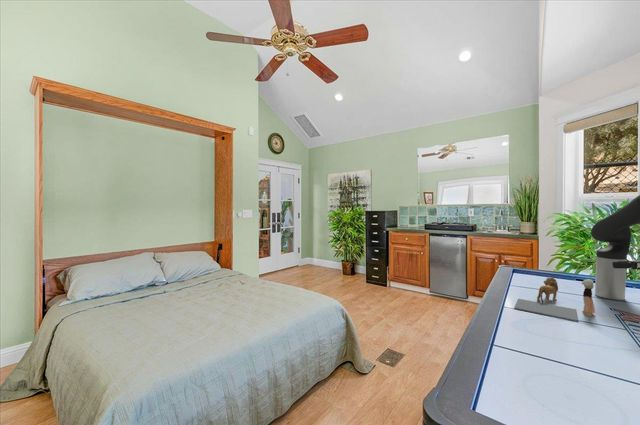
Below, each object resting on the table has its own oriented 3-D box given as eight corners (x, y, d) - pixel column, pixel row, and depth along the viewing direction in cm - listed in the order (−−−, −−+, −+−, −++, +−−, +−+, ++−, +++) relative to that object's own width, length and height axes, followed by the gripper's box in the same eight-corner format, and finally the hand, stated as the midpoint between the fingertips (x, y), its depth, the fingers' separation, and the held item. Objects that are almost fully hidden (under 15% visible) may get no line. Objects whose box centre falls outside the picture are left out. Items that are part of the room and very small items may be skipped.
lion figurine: (543, 295, 123) (544, 275, 123) (559, 298, 119) (560, 277, 119) (534, 302, 114) (535, 280, 114) (551, 306, 110) (552, 283, 110)
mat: (518, 299, 117) (518, 298, 117) (576, 310, 105) (576, 309, 105) (514, 308, 106) (514, 307, 106) (578, 322, 95) (578, 320, 95)
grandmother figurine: (597, 318, 98) (599, 282, 98) (583, 315, 101) (584, 280, 100) (591, 311, 105) (592, 277, 105) (577, 309, 107) (579, 276, 107)
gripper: (688, 252, 90) (616, 253, 103) (687, 252, 82) (609, 254, 95) (694, 276, 89) (620, 274, 102) (693, 279, 81) (613, 276, 94)
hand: (615, 264), depth 98 cm, fingers open, 8 cm apart
